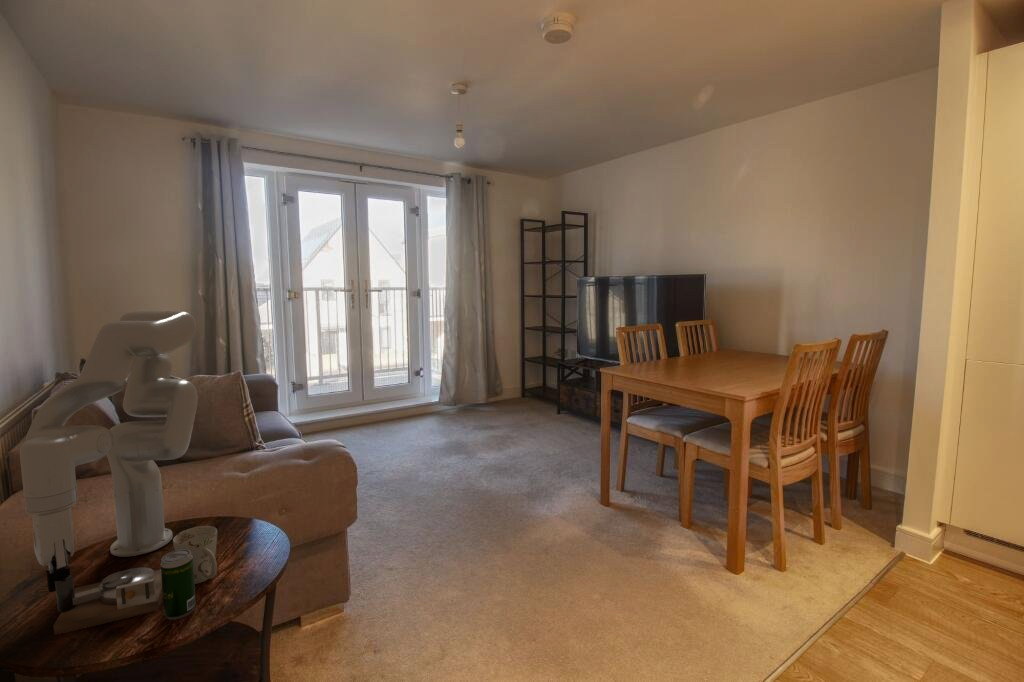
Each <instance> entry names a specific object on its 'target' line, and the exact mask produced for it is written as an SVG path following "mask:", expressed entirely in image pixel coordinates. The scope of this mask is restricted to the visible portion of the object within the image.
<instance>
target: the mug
mask: <svg viewBox="0 0 1024 682" xmlns="http://www.w3.org/2000/svg"><path fill="white" fill-rule="evenodd" d="M217 541H218V528H216V527H215V526H212V525H201V526H200V525H199V526H195V527H191V528H188V529H185V530H183V531H181V532H179V533H177V534H176V535H175V536H174V537H173V538H172V543H173V548H174V551H175V550H180V549H188V550H190V551H191V554H192V555H193V567H194V582H195V585H196V584H201V583H203V582H206V581H208V580H210V579H212V578H214V577H215V576H216V575H217V572H218V564H217V559H216V551H217Z"/></svg>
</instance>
